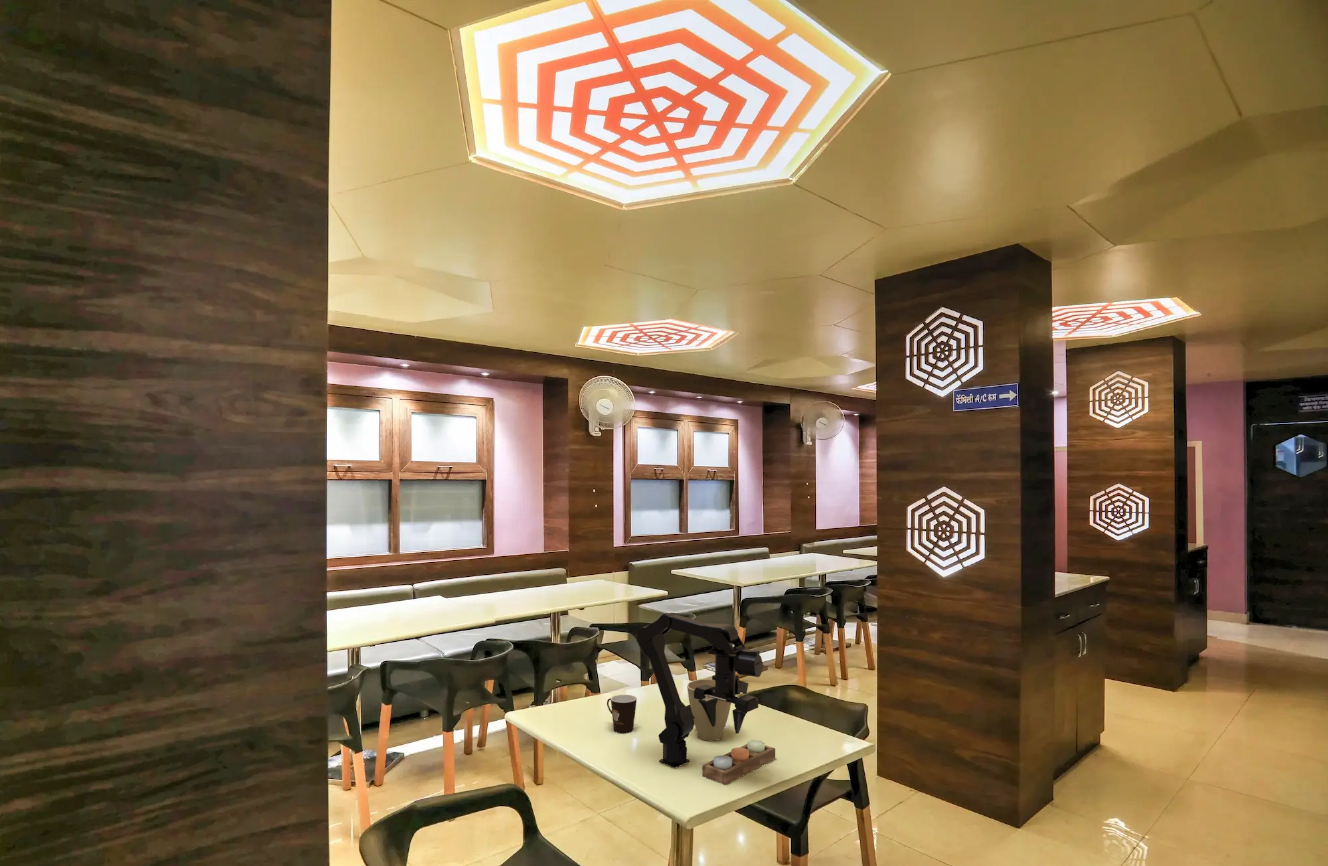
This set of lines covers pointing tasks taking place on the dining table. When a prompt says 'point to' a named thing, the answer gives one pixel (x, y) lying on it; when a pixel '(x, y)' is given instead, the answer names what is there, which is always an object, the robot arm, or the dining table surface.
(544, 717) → the dining table surface
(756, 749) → the sage button
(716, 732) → the plant pot
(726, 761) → the slate button
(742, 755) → the terracotta button
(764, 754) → the brown wooden flat tray
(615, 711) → the coffee mug
